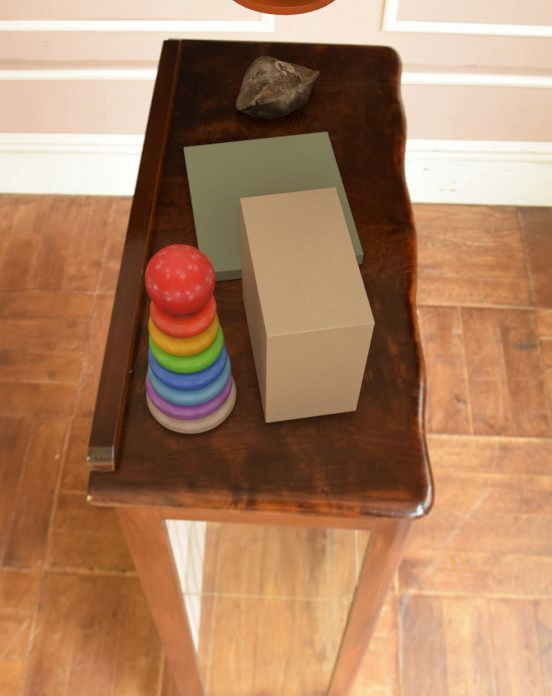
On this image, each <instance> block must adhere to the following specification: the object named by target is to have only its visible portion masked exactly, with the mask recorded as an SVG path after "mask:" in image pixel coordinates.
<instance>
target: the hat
mask: <svg viewBox="0 0 552 696" xmlns="http://www.w3.org/2000/svg"><path fill="white" fill-rule="evenodd" d="M232 1H233V2H234V3H236V4H238V6H239V5H240V6H241V7H243V8H245V9H248V10H251V11H253V12H257V13H260V14H265V15H274V16H296V15H304V14H307V13H312V12H315V11H319V10H321V9H323V8H325V7H328V6H329V5H331V4H332V3H334V2H335V1H336V0H232Z"/></svg>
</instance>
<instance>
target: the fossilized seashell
mask: <svg viewBox="0 0 552 696" xmlns="http://www.w3.org/2000/svg"><path fill="white" fill-rule="evenodd" d="M320 75H321V74H320V71H319V70H314V69H313V70H312V69H310V68H308V67H306V66H303V65H300V64H297V63H292V62H288V61H281V60H279V59H277V58H275V57H273V56H272V55H261V56H259V57H257V58H255V59H254V61H252V62H251V64H250V65H249V66H248V67H247V68H246V70H245V72H244V74H243V78H242V82H241V86H240V89H239V93H238V95H237V98H236V100H235V105H234V106H235V109H236V111H238V112H241V113H243V114H246V115H248V116H250V117H253V118H256V119H262V120H273V119H279V118H281V117H285V116H287V115H289V114H291V113H292V112H293V111H295V110H298V109H299V110H300V109H301V108H302V107H303V106H305V105H306V104H307V103H308V101H309V98H310V97H311V96H310V95H311V92H312V90H313V89H312V88H313V86H314V84H315V82H316V81H317V79H318V78H319V77H320Z"/></svg>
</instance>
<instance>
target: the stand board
mask: <svg viewBox="0 0 552 696" xmlns="http://www.w3.org/2000/svg"><path fill="white" fill-rule="evenodd" d="M183 154H184V162H185V163H184V164H185V169H186V176H187V182H188V189H189V194H190V195H189V196H190V197H189V198H190V203H191V209H192V216H193V223H194V229H195V236H196V244H197V249H199V250H200V251H201V252H203V253H204V254H205V255H206V256H207V257H208V259H209V260H210V262H211V264H212V266H213V269H214V272H215V282H222V281H231V280H239V279H242V253H241V218H240V198H246V197H254V196H263V195H272V194H281V193H289V192H298V191H307V190H316V189H324V188H333V187H336V190H337V193H338V197H339V200H340V204H341V207H342V211H343V214H344V217H345V221H346V224H347V228H348V231H349V235H350V238H351V242H352V245H353V249H354V252H355V256H356V259H357V263H358V265H361V264H363V260H364V251H363V247H362V243H361V241H360V237H359V234H358V231H357V227H356V224H355V220H354V217H353V214H352V210H351V207H350V203H349V200H348V197H347V193H346V190H345V187H344V183H343V180H342V175H341V172H340V169H339V166H338V163H337V159H336V157H335V153H334V148H333V146H332V142H331V140H330V136H329V132H328V131H321V132H312V133H301V134H295V135H294V134H293V135H285V136H283V135H282V136H274V137H265V138H256V139H248V140H247V139H246V140H238V141H229V142H219V143H218V142H217V143H210V144H202V145H201V144H200V145H191V146H184V147H183Z"/></svg>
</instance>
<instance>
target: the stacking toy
mask: <svg viewBox="0 0 552 696" xmlns="http://www.w3.org/2000/svg"><path fill="white" fill-rule="evenodd" d="M144 285H145V289H146V292H147V294H148V296H149V298H150V300H151V301H150V304H149V317H148V323H147V327H148V328H147V329H148V333H149V336H148V346H149V348H148V352H147V360H148V365H147V371H146V375H145V390H146V392H145V396H146V397H145V398H146V404H147V408H148V410H149V412H150V414H151V415H152V417H153V418H154V419H155V420H156V422H158V423H159V425H161V426H163V427H164V428H166V429H167V430H170V431H172V432H175V433H180V434H193V435H194V434H201V433H204V432H208V431H210V430H213V429H214V428H216V427H218V426H219V425H221V424H222V423H223V422H224V421H226V419H227V418H228V417H229V416H230V414H231V413H232V411H233V410H234V407H235V403H237V402H236V401H237V397H238V396H237V394H238V391H237V385H236V381H235V379H234V376H233V373H232V364H231V358H230V355H229V353H228V348H227V346H226V342H225V335H224V330H223V328H222V325H221V324H220V320H219V315H218V314H217V301H216V298H215V296H214V290H215V287H216V281H215V272H214V269H213V266H212V264H211V262H210V260H209V259H208V257H207V256H206V255H205V254H204V253H203V252H201V251H200V250H199V249H198V247H195V246H192V245H189V244H182V243H177V244H176V243H175V244H171V245H170V244H169V245H167V246H164V247H163V248H161V249H160V250H158V251H157V252H156V253H154V255H153V256H152V257H151V258H150V260H149V262H148V263H147V265H146V269H145V274H144Z"/></svg>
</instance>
